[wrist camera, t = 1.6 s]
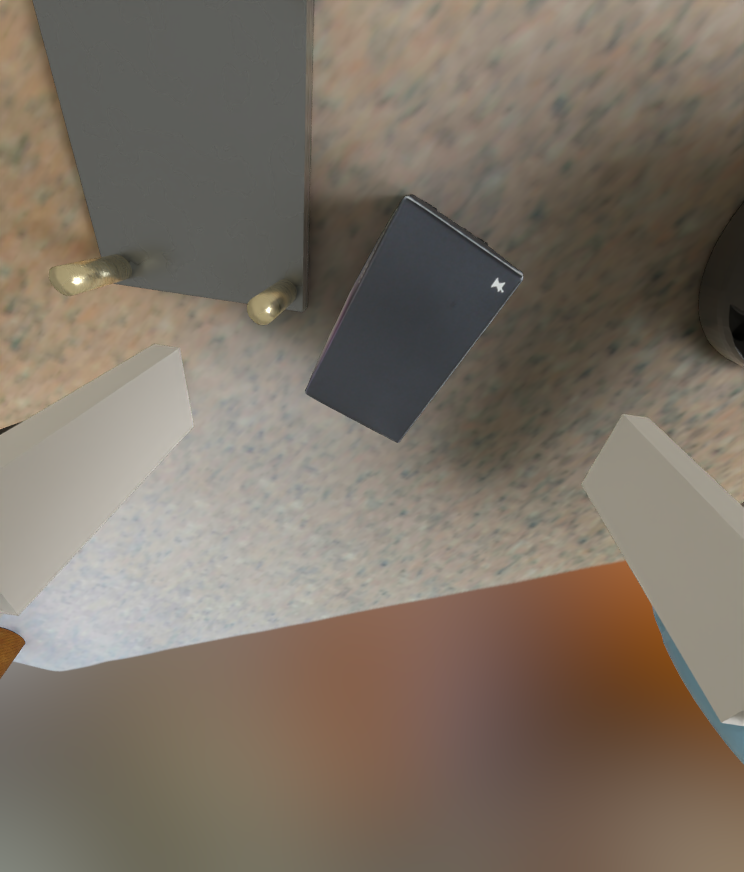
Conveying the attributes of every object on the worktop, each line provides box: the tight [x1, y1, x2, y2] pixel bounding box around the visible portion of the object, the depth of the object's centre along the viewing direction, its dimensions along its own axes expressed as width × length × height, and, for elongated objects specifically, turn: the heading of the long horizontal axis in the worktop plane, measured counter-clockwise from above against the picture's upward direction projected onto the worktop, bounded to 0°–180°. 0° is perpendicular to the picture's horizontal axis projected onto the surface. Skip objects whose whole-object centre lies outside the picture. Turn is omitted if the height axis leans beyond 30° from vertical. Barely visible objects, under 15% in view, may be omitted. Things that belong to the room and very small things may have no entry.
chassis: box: [33, 0, 314, 325], centre depth 19 cm, size 14×18×6 cm
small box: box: [305, 195, 523, 443], centre depth 22 cm, size 11×6×10 cm, turn 151°
